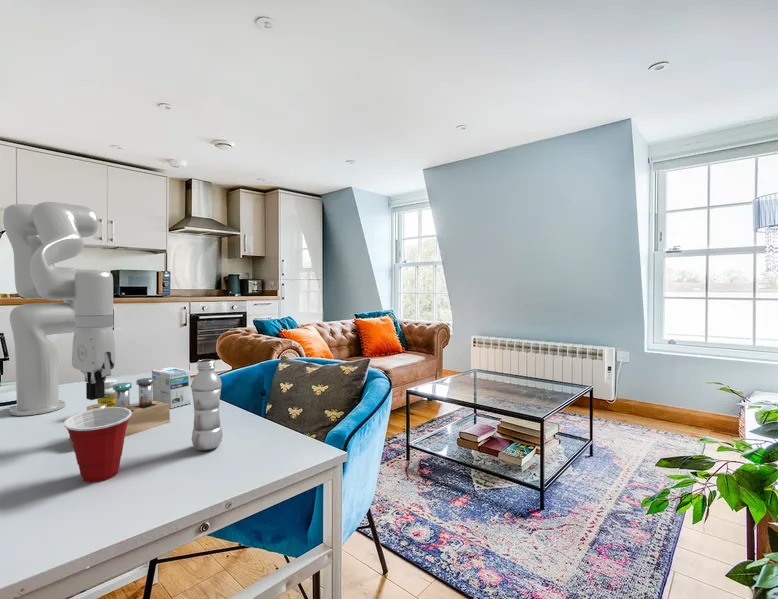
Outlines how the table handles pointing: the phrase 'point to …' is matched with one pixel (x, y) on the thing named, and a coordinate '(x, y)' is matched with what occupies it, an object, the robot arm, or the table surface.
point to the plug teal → (122, 395)
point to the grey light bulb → (145, 392)
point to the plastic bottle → (206, 406)
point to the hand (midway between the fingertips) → (95, 398)
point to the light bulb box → (171, 386)
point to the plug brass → (96, 406)
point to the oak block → (146, 417)
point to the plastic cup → (98, 441)
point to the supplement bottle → (108, 394)
